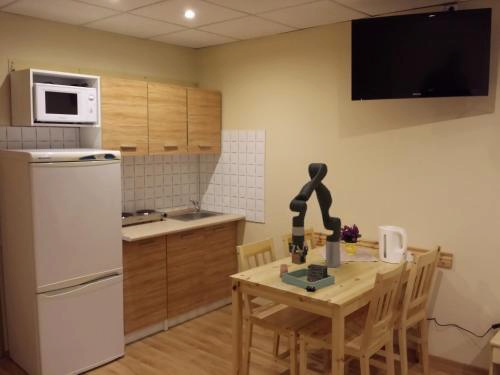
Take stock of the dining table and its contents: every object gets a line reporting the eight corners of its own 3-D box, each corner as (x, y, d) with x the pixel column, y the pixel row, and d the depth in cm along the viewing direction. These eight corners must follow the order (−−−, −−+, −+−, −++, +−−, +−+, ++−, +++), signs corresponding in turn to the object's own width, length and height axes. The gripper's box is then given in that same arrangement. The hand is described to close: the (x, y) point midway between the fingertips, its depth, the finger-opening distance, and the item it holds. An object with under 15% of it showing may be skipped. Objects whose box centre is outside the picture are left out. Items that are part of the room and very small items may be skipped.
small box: (327, 282, 276) (328, 265, 275) (323, 285, 270) (324, 268, 269) (311, 280, 281) (311, 263, 280) (307, 283, 276) (307, 265, 275)
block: (298, 261, 282) (298, 251, 281) (305, 262, 277) (305, 253, 277) (291, 262, 278) (291, 253, 277) (299, 264, 273) (299, 255, 273)
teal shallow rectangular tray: (304, 274, 292) (304, 267, 292) (334, 283, 275) (334, 276, 274) (281, 281, 279) (281, 274, 279) (312, 290, 261) (312, 283, 261)
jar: (283, 275, 292) (283, 263, 292) (289, 276, 289) (289, 264, 288) (278, 276, 289) (278, 264, 288) (284, 278, 286) (284, 266, 285)
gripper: (311, 234, 272) (311, 262, 274) (293, 231, 283) (293, 257, 285) (303, 236, 268) (302, 264, 269) (285, 232, 278) (285, 260, 280)
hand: (298, 261), depth 277 cm, fingers closed on block, 6 cm apart
